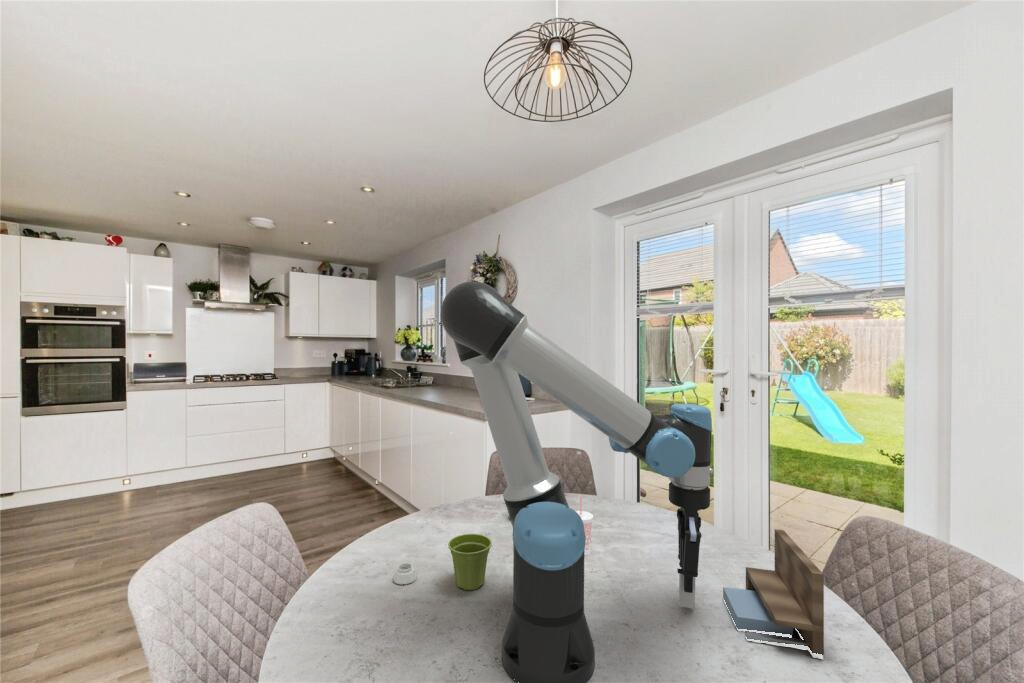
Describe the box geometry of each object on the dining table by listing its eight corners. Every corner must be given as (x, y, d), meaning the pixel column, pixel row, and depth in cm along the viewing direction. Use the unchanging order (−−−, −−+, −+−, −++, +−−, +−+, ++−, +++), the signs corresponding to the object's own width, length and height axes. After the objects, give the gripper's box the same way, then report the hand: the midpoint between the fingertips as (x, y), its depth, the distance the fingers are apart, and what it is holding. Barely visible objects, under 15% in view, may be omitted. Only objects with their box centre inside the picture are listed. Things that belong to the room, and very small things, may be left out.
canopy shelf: (823, 660, 71) (823, 574, 71) (749, 648, 73) (750, 565, 74) (783, 598, 88) (783, 529, 88) (724, 590, 91) (724, 524, 91)
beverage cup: (598, 554, 106) (598, 497, 107) (576, 559, 104) (576, 500, 104) (584, 544, 112) (585, 490, 112) (564, 548, 110) (564, 492, 110)
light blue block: (792, 641, 76) (792, 624, 76) (737, 633, 78) (737, 616, 78) (772, 608, 86) (772, 592, 86) (723, 601, 88) (723, 586, 88)
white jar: (389, 584, 92) (410, 587, 91) (389, 570, 92) (410, 573, 91) (399, 572, 97) (420, 575, 96) (399, 559, 97) (420, 562, 96)
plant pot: (450, 598, 87) (451, 555, 87) (445, 574, 96) (445, 535, 96) (495, 592, 90) (496, 550, 90) (486, 569, 99) (486, 531, 99)
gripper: (717, 496, 77) (714, 629, 77) (703, 476, 90) (701, 590, 89) (672, 492, 79) (669, 621, 79) (665, 472, 92) (663, 584, 91)
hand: (686, 605), depth 84 cm, fingers closed
